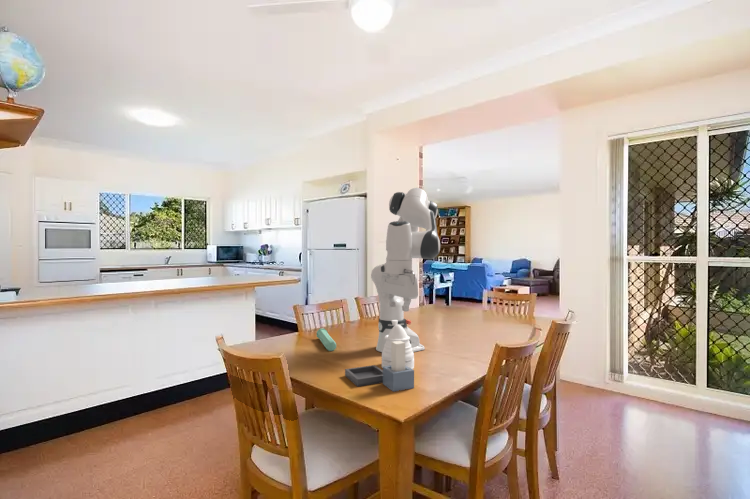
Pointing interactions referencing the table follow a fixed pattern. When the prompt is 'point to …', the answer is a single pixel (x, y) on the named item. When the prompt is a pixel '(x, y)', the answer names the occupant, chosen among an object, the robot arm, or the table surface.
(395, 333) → the honey pot
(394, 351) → the peg
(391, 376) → the socket
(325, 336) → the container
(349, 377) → the tray
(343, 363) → the table surface
